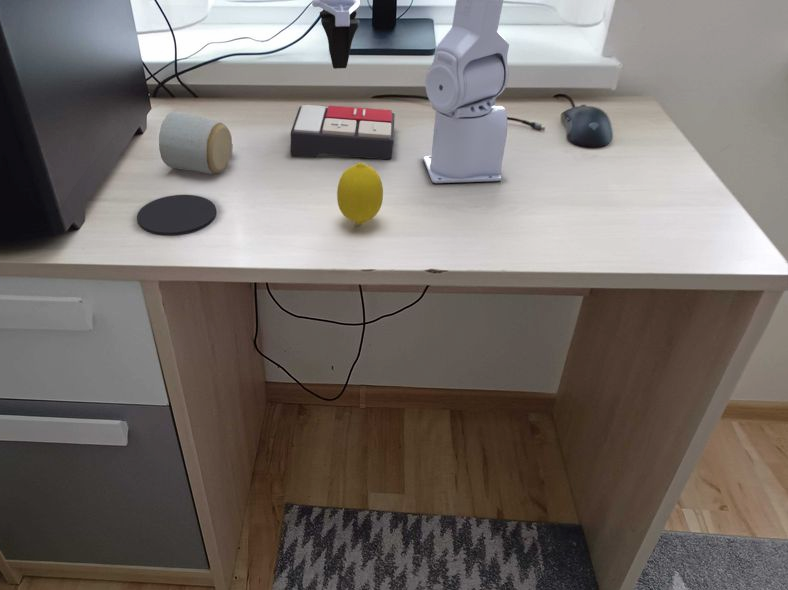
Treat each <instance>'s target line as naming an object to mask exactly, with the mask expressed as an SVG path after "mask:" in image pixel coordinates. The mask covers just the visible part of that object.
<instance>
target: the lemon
mask: <svg viewBox="0 0 788 590" xmlns="http://www.w3.org/2000/svg"><path fill="white" fill-rule="evenodd" d="M383 186H384V185H383V182H382V179H381V176H380V174H379V173H378V171H376V169H375V168H373V167H372V166H370V165H368V164H366V163H364V162H361V161H359V162H357V163H356V164H353V165H351V166H349V167H348V168H347V169H345V170H344V171H343V173H342V174H341V176H340V178H339V181H338V184H337V188H336V189H337V190H336V200H337V206H338V208H339V210H340V212H341V214H342V215H343V217H345V218H346V219H347V220H349V221H351V222H354V223H355V224H356V225H357V226H359V225H362V224H364V223H366V222H368V221H371V220H372V219H374V218H375V217H376V216H377V215H378V214H379V212H380V210H381V207H382V206H383V205H382V204H383V201H384V200H383V198H384V187H383Z"/></svg>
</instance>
